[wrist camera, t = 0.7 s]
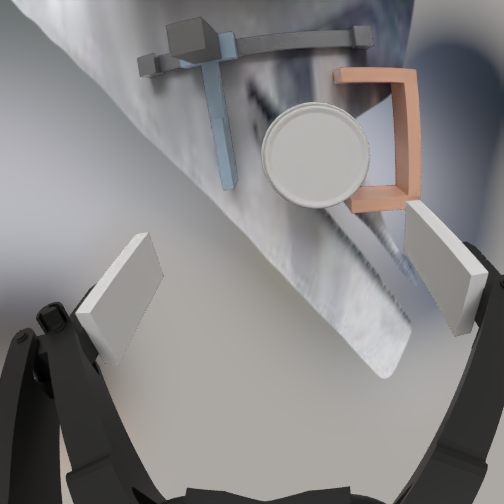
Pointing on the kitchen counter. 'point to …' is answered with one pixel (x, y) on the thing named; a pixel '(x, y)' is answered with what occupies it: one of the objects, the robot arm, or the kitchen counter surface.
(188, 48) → the pusher
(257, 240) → the kitchen counter surface
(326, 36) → the rail
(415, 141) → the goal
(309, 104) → the coffee cup
